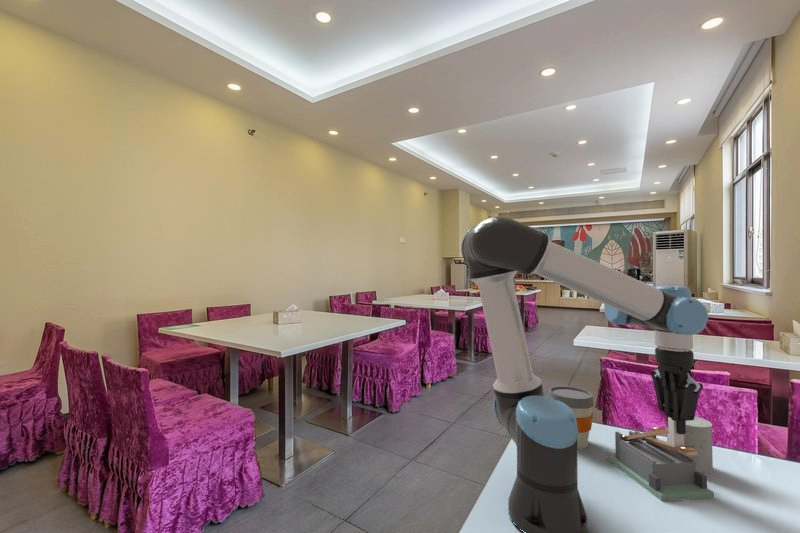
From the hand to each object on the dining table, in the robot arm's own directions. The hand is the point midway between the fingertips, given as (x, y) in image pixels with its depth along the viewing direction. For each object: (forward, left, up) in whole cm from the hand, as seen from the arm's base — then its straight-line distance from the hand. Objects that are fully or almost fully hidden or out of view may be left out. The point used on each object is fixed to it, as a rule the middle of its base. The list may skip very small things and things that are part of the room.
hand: (676, 445), depth 86 cm
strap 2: (0, +3, -2) cm, 3 cm away
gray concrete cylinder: (+10, +7, -10) cm, 16 cm away
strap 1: (-6, +3, 0) cm, 7 cm away
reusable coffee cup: (-13, +23, -10) cm, 28 cm away
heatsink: (-3, +3, -9) cm, 10 cm away
